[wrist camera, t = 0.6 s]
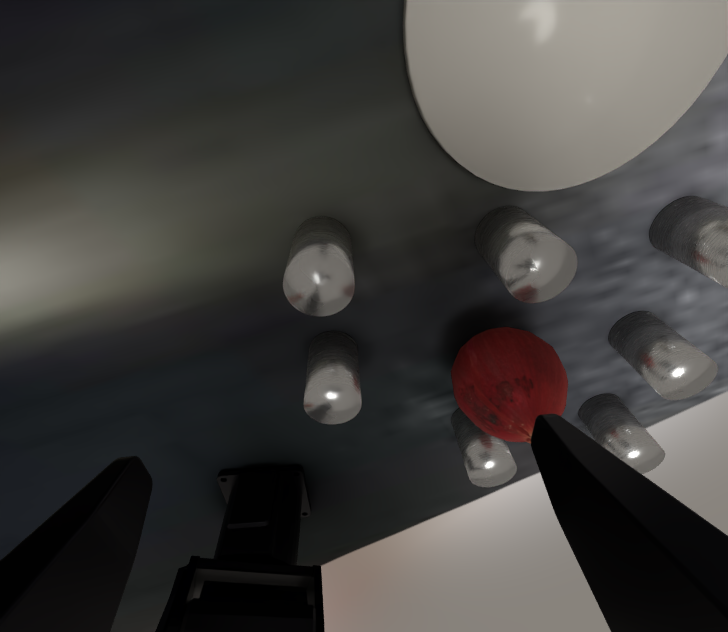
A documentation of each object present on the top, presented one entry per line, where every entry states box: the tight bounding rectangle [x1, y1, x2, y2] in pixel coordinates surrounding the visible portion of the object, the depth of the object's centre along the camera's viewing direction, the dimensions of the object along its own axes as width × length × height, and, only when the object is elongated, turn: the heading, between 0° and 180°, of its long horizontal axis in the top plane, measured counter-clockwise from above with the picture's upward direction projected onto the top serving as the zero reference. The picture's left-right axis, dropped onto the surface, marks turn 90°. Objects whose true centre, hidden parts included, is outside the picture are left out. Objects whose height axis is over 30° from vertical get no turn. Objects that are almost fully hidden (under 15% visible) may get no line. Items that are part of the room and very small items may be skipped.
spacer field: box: [283, 196, 728, 487], centre depth 22 cm, size 17×22×4 cm
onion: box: [451, 327, 568, 443], centre depth 21 cm, size 6×6×8 cm
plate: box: [403, 0, 728, 191], centre depth 15 cm, size 13×13×1 cm
